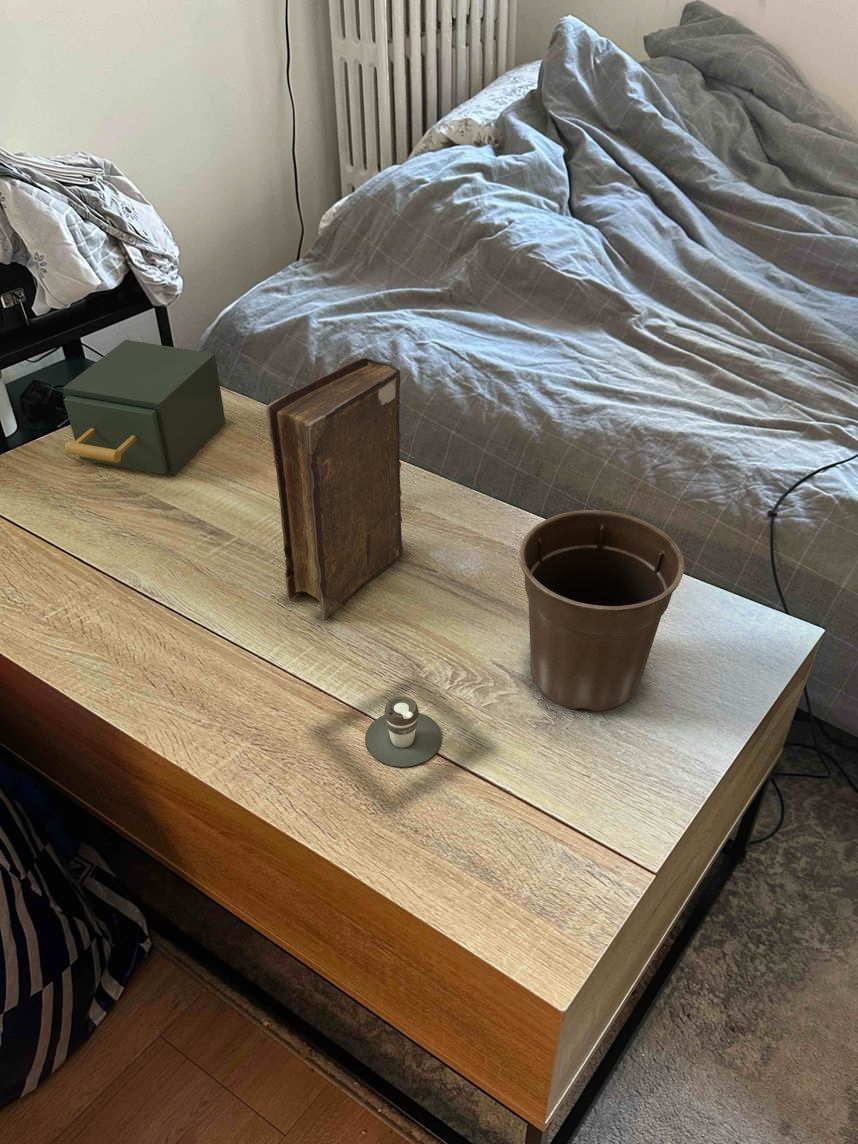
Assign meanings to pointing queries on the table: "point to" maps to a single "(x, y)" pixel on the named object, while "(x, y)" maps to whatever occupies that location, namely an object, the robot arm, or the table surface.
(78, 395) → the cabinet
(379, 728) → the coffee cup
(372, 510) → the book
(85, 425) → the drawer
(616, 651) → the plant pot
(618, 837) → the table surface
